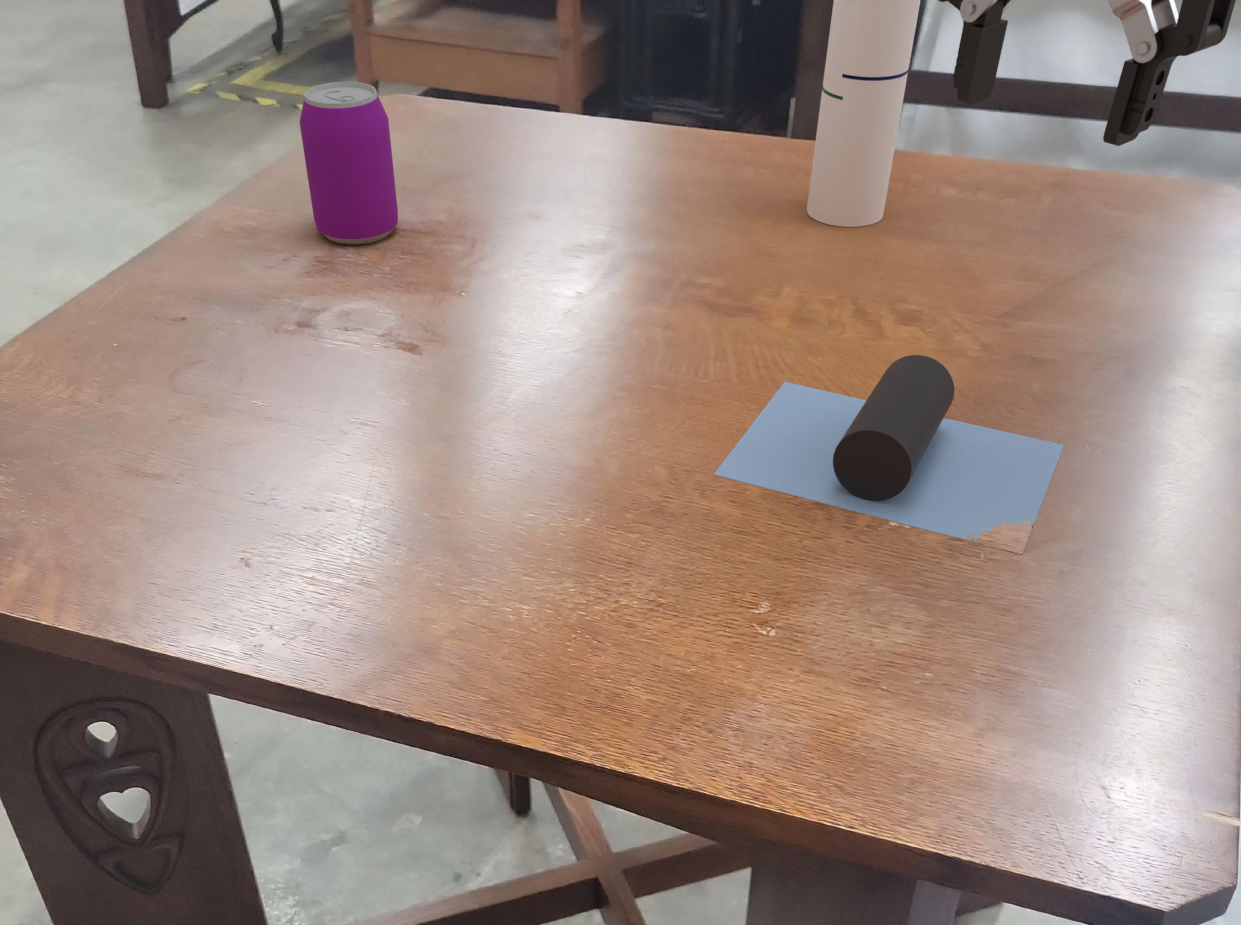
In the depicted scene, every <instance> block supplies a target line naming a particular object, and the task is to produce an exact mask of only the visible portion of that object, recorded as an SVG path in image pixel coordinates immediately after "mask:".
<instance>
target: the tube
mask: <svg viewBox="0 0 1241 925" xmlns="http://www.w3.org/2000/svg"><path fill="white" fill-rule="evenodd" d="M954 396H955V383H954V380H953V377H952V375H951V373H950V372H949V370H948V368H946V367H945V366H944V364H942V363H941V362H940V361H938V360H936V359H935V358H933V357H930V356H927V355H923V354H909V355H905V356H902V357H900V358H898V359H896V360H895V361H893V362H892V363H891V364H890V365H889V366H888V367H887V368H886V370H885V372H883V374H882V376H881V377H880V379H879V380H878V382H877V384H876V385H875V387H874V388H873V390H872V391H871V393H870V394H869V396H868V397H867V399H866V400H867V401H866V402H865V404H864V405H863V407H862V408H861V410H860V411H859V413H858V414H857V416H856V417H855V419H854V421H853V422H852V424H851V425H850V427H849V428H848V430H847V431H846V433H845V434H844V436H843V438H842V439H841V441H840V442H839V444H838V445H837V447H836V449H835V451H834V455H833V468H834V472H835V475H836V477H837V479H838V481H839V482H840V483H841V485H842V486H843V487H844V488H845V489H846V490H847V491H849V492H850V493H852V494H853V495H855V496H857V497H859V498H862V499H865V500H871V501H882V500H887V499H890V498H893V497H894V496H896V495H898V494H899V493H901V492H902V491H903V490H904V489H905V487H906V486H907V484H908V483H909V481H910V479H911V477H912V475H913V473H914V472H915V470H916V468H917V466H918V464H919V462H920V461H921V459H922V457H923V455H924V453H925V451H926V450H927V448H928V446H929V444H930V442H931V440H932V438H933V437H934V435H935V433H936V431H937V429H938V427H939V426H940V424H941V422H942V420H943V418H945V416H946V415H947V413H948V411H949V409H950V407H951V405H952V403H953V401H954Z"/></svg>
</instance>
